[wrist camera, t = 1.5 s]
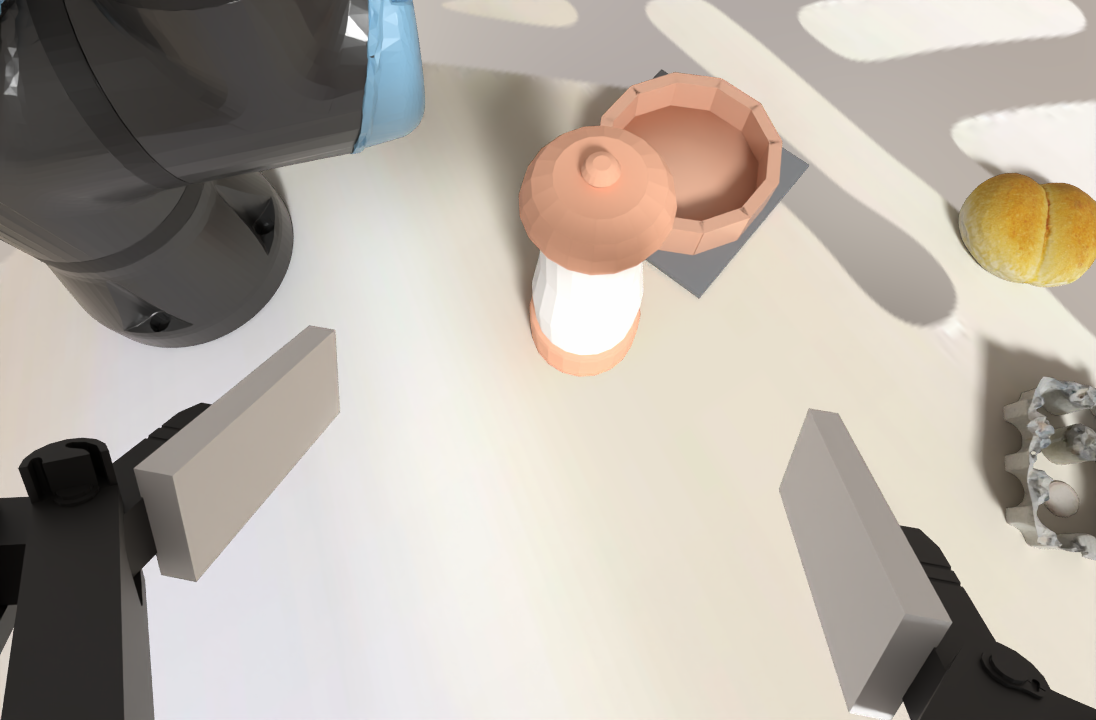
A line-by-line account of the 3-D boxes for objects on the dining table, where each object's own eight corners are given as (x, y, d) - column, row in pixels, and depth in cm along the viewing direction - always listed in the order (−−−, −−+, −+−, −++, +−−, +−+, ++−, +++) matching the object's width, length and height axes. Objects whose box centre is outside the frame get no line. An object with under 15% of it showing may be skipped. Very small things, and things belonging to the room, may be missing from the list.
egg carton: (1115, 571, 38) (1180, 575, 34) (991, 540, 38) (1040, 540, 34) (1114, 408, 40) (1173, 394, 37) (998, 382, 41) (1044, 366, 37)
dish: (559, 185, 45) (559, 159, 42) (662, 77, 48) (670, 45, 45) (698, 286, 43) (709, 266, 40) (799, 165, 46) (816, 138, 43)
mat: (549, 189, 46) (549, 186, 45) (660, 73, 49) (661, 69, 48) (699, 298, 43) (700, 296, 43) (807, 168, 46) (809, 165, 46)
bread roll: (957, 177, 46) (994, 143, 42) (1080, 206, 45) (1128, 174, 41) (946, 272, 44) (983, 246, 40) (1075, 304, 43) (1126, 281, 39)
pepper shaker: (620, 270, 44) (664, 74, 25) (646, 364, 42) (715, 223, 23) (521, 291, 43) (495, 106, 25) (543, 386, 41) (532, 261, 23)
